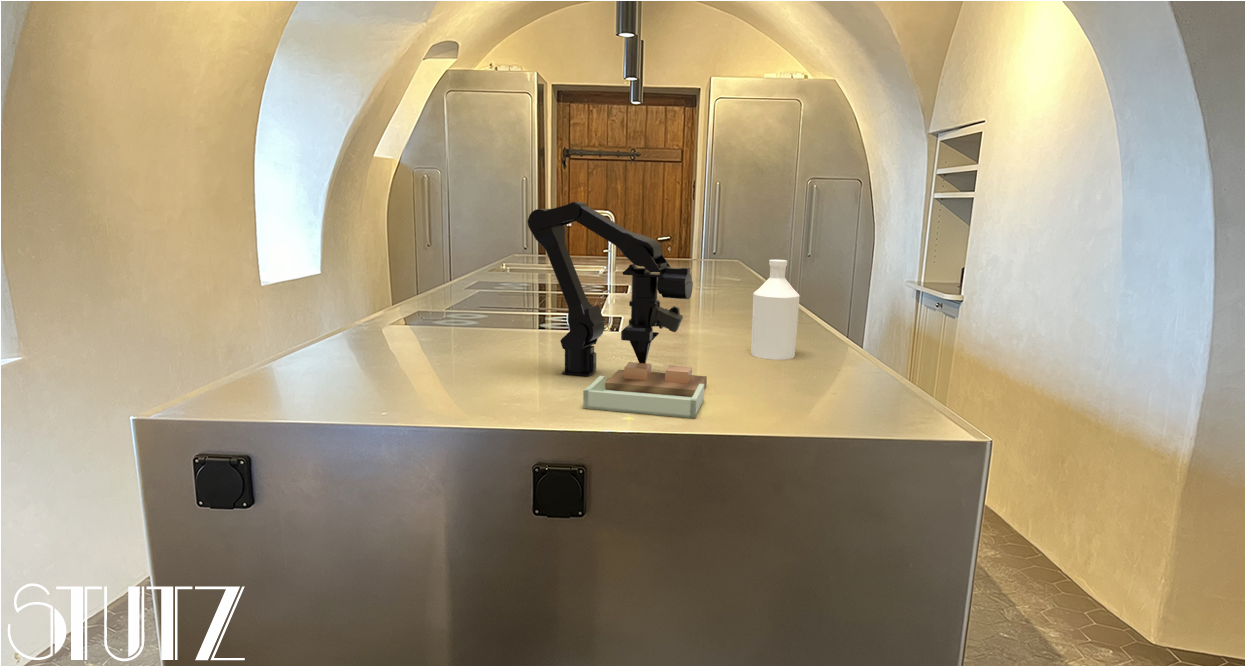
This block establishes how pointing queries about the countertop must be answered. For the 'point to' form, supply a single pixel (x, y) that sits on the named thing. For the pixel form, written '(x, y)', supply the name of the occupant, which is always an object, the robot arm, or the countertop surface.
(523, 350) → the countertop surface
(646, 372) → the left tile
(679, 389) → the walnut board
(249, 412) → the countertop surface
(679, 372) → the right tile
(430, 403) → the countertop surface
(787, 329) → the bottle
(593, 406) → the sage tray
